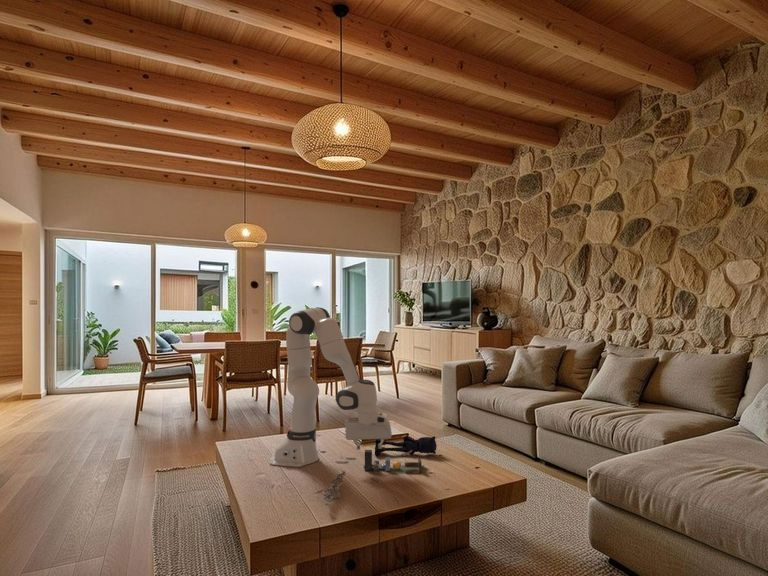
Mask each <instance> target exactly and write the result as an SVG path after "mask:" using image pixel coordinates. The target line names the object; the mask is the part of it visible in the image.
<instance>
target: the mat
mask: <svg viewBox="0 0 768 576" xmlns="http://www.w3.org/2000/svg"><path fill="white" fill-rule="evenodd" d="M421 466H422V473H405V469H419V467H418V466H414V467H405V464H401V468H400V469H398V470H396V469H394V467H393V466H392V473H391V474H392V475H426V470H425V465H424V464H421Z"/></svg>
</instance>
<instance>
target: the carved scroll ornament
mask: <svg viewBox="0 0 768 576" xmlns="http://www.w3.org/2000/svg"><path fill="white" fill-rule="evenodd" d="M345 475H346V471H345V470H344V471H342V473H339V474H337V475H336V478H334V479H331V480H330V485H329V487H328V488H327V489H326V490H324V495H325V497H324V502H325V503H324V505H325V506H330V504H331V502H332V500H334V499H335V500H337V499H339V498H340V497H341V494H340V492H339V490H340V486H341V485H342V483H343V480H344V476H345Z"/></svg>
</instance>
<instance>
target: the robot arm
mask: <svg viewBox="0 0 768 576" xmlns="http://www.w3.org/2000/svg"><path fill="white" fill-rule="evenodd" d="M288 324H289V325H288V328H287V329H286V336H285V337H286V339H285V340H286V341H285V342H286V344H285V345H286V353H287V354H286V355H287V356H286V357H287V383H286V387H287V388H286V389H287V390H288V393H289V394H290V395H291V396H292V397H293V404H292V411H291V412H290V427H288V429H287V431H286V437H287V438H285V439H284V440H282V441H281V442H280V443H279V444H278V445H277V446H276V447H275V452H274V454H273V455H272V456H271V457H270V459H269V465H271V466H284V467H295V468H296V467H297V468H299V467H300V468H301V467H304V466H305V465H309V464H313V463H315V462H317V461H319V458H320V457H319V454H318V450H317V442H316V440H317V429H316V414H315V413H316V407H317V406H316V405H317V400H318V398H319V395H320V389H319V385H318V384H317V382H316V381H315V380H314V379H312V378H311V367H312V364H313V359H312V349H311V341H310V340H311V339H310V338H311V337H310V336H311V335H312V334H314V335H315V336H316V337H317V341H318V345H319V348H320V350H321V353H322V356H323V357H324V359H325V360H327V361H329V362H331V363H334V364H336V365H337V366H339V367H340V368H341V371H342V374H343V376H344V378H345V381H346V384H347V386H345V387H344V388H342V389H340V390H339V391H338V392H337V394H336V397H335V402H336V404H337V406H338V408H339V409H341V410H342V411H350V410H351V411H352V410H357V417H348V418H346V419H345V420H344V427H345V439H346V440H347V441H351V440H352V441H353V443H354V445H355V446H356V450H361V444H359V442H358V440H360V441H361V440H376V439H380V440H381V443H380V444H378V449H382V447H383V445H382V443H383V442H384V440H387V439H389V440H390V439H391V438H392V434H393V433H392V426H391V422H390V421H389V416H388V415H389V414H387V413H384V412H380V411H378V407H377V406H378V405H377V402H378V397H377V396H378V395H377V389H376V384H375V382H374V381H372V380H370V379H361V377H360V375H359V373H358V370H357V368H356V364H355V363H354V360H353V358H352V356H351V354H350V352H349V349H348V348H347V345H346V342H345V339H344V336H343V333H342V330H341V328H340V325H339V324H338V322H337V320H336V319H335V318H333V317H330V313H329V312H328V310H327V309H326V308H324V307H320V306H319V307H309V308H306V309H302V310H296V311H295V312H294V313H292V314H291V315H290V317H289V319H288Z"/></svg>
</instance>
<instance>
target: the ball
mask: <svg viewBox="0 0 768 576" xmlns="http://www.w3.org/2000/svg"><path fill="white" fill-rule="evenodd" d="M401 465H402V464H401V462H400V461H397V460H395V461H394V462H393V463H392V468H393V467H394V469H396V470H398V469H400V468H401Z"/></svg>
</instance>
